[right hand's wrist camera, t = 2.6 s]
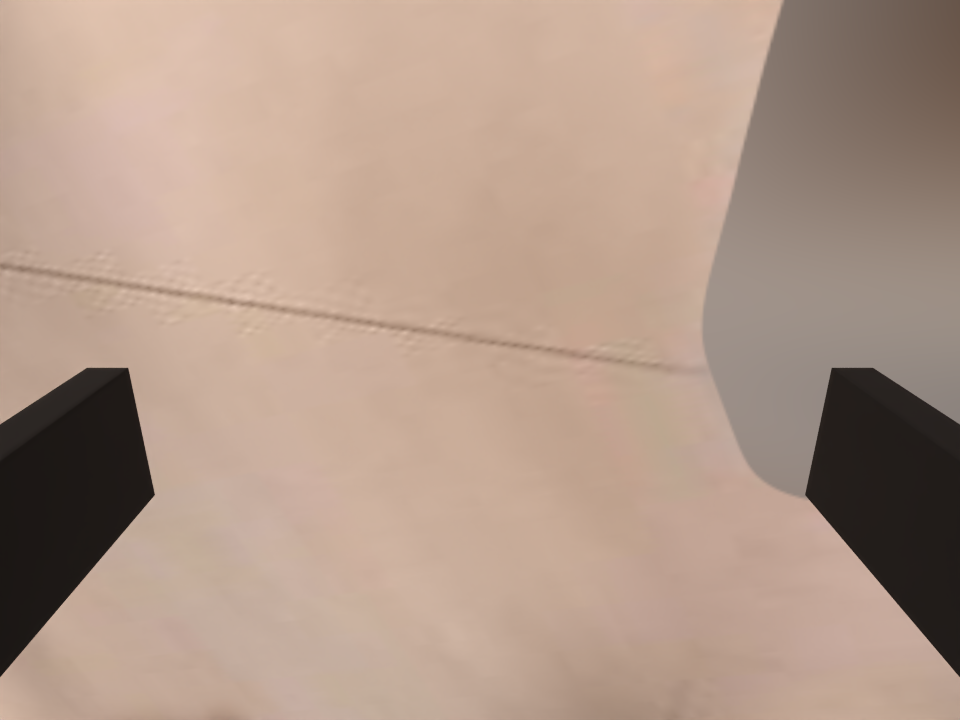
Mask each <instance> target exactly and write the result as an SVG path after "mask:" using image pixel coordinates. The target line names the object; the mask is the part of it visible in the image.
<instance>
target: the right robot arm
mask: <svg viewBox="0 0 960 720" xmlns="http://www.w3.org/2000/svg"><path fill="white" fill-rule="evenodd" d="M154 495H155V494H154V489H153V484H152V479H151V475H150V470H149V465H148V460H147V456H146V451H145V446H144V441H143V436H142V432H141V427H140V422H139V417H138V413H137V408H136V403H135V398H134V393H133V389H132V384H131V379H130V374H129V370H128V368H86V369H85V370H83V371H82V372H80V373H79V374H77V375H75V376H74V377H72V378H71V379H69V380H68V381H66V382H65V383H63V384H62V385H60V386H59V387H57V388H56V389H54V390H52V391H51V392H49V393H48V394H46V395H45V396H43V397H42V398H40V399H39V400H37V401H36V402H34V403H33V404H31V405H29V406H28V407H26V408H25V409H23V410H22V411H20V412H19V413H17V414H16V415H14V416H13V417H11V418H10V419H8V420H6V421H5V422H3V423H2V424H0V677H1V675H2V674H3V673H4V672H5V671H6V670H7V668H8V667H9V666H10V665H11V664H12V663H13V661H14V660H15V659H16V658H17V657H18V655H19V654H20V653H21V652H22V651H23V650H24V648H25V647H26V646H27V645H28V644H29V642H30V641H31V640H32V639H33V638H34V637H35V635H36V634H37V633H38V632H39V631H40V630H41V628H42V627H43V626H44V625H45V624H46V622H47V621H48V620H49V619H50V618H51V617H52V615H53V614H54V613H55V612H56V611H57V610H58V608H59V607H60V606H61V605H62V604H63V602H64V601H65V600H66V599H67V598H68V597H69V595H70V594H71V593H72V592H73V591H74V589H75V588H76V587H77V586H78V585H79V584H80V582H81V581H82V580H83V579H84V578H85V577H86V575H87V574H88V573H89V572H90V571H91V569H92V568H93V567H94V566H95V565H96V564H97V562H98V561H99V560H100V559H101V558H102V556H103V555H104V554H105V553H106V552H107V551H108V549H109V548H110V547H111V546H112V545H113V544H114V542H115V541H116V540H117V539H118V538H119V536H120V535H121V534H122V533H123V532H124V531H125V529H126V528H127V527H128V526H129V525H130V523H131V522H132V521H133V520H134V519H135V518H136V516H137V515H138V514H139V513H140V512H141V511H142V509H143V508H144V507H145V506H146V505H147V503H148V502H149V501H150V500H151V499H152V498H153V496H154ZM805 495H806V496H807V498H808V499H809V500H810V501H811V502H812V503H813V505H814V506H815V507H816V508H817V509H818V511H819V512H820V513H821V514H822V515H823V516H824V518H825V519H826V520H827V521H828V522H829V523H830V525H831V526H832V527H833V528H834V529H835V531H836V532H837V533H838V534H839V535H840V536H841V538H842V539H843V540H844V541H845V542H846V544H847V545H848V546H849V547H850V548H851V549H852V551H853V552H854V553H855V554H856V555H857V556H858V558H859V559H860V560H861V561H862V562H863V564H864V565H865V566H866V567H867V568H868V569H869V571H870V572H871V573H872V574H873V575H874V577H875V578H876V579H877V580H878V581H879V582H880V584H881V585H882V586H883V587H884V588H885V589H886V591H887V592H888V593H889V594H890V595H891V597H892V598H893V599H894V600H895V601H896V602H897V604H898V605H899V606H900V607H901V608H902V610H903V611H904V612H905V613H906V614H907V615H908V617H909V618H910V619H911V620H912V621H913V622H914V624H915V625H916V626H917V627H918V628H919V630H920V631H921V632H922V633H923V634H924V635H925V637H926V638H927V639H928V640H929V641H930V642H931V644H932V645H933V646H934V647H935V648H936V650H937V651H938V652H939V653H940V654H941V655H942V657H943V658H944V659H945V660H946V661H947V663H948V664H949V665H950V666H951V667H952V668H953V670H954V671H955V672H956V673H957V674H958V675H959V677H960V424H958V423H956V422H955V421H954V420H952V419H950V418H949V417H947V416H946V415H944V414H943V413H941V412H940V411H938V410H937V409H935V408H934V407H932V406H931V405H929V404H927V403H926V402H924V401H923V400H921V399H920V398H918V397H917V396H915V395H914V394H912V393H911V392H909V391H908V390H906V389H904V388H903V387H901V386H900V385H898V384H897V383H895V382H894V381H892V380H891V379H889V378H888V377H886V376H885V375H883V374H881V373H880V372H878V371H877V370H875V369H874V368H832V370H831V375H830V379H829V384H828V389H827V394H826V398H825V403H824V408H823V413H822V417H821V422H820V427H819V432H818V436H817V441H816V446H815V451H814V456H813V460H812V465H811V470H810V475H809V479H808V484H807V489H806V494H805Z"/></svg>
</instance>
